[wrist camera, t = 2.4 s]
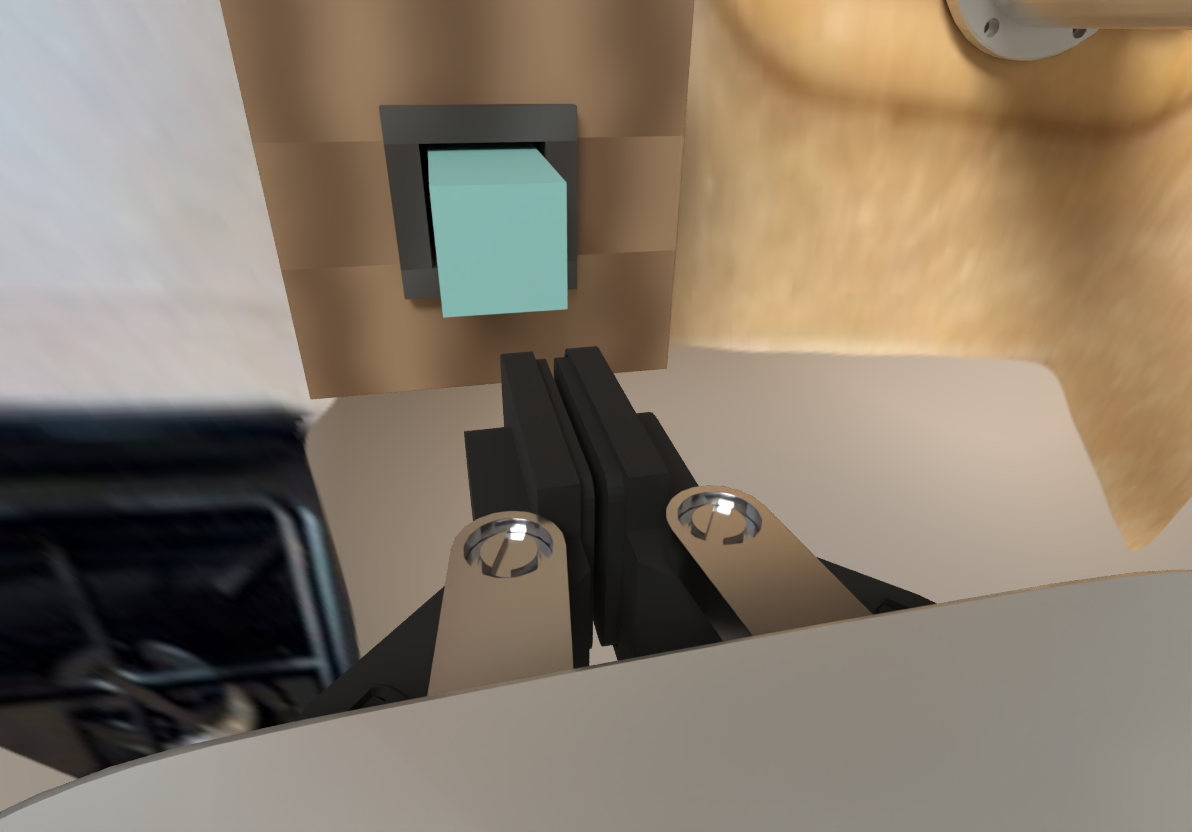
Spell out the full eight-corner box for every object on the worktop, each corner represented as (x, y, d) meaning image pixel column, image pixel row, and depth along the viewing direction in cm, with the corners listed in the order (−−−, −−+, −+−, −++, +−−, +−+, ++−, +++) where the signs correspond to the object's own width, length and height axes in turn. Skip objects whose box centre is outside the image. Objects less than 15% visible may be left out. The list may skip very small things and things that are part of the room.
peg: (524, 135, 28) (566, 182, 20) (528, 231, 30) (567, 309, 22) (427, 137, 28) (429, 186, 19) (437, 234, 30) (443, 317, 21)
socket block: (631, -23, 32) (704, -38, 23) (620, 301, 40) (672, 375, 31) (265, -34, 28) (200, -56, 20) (334, 320, 36) (308, 408, 28)
